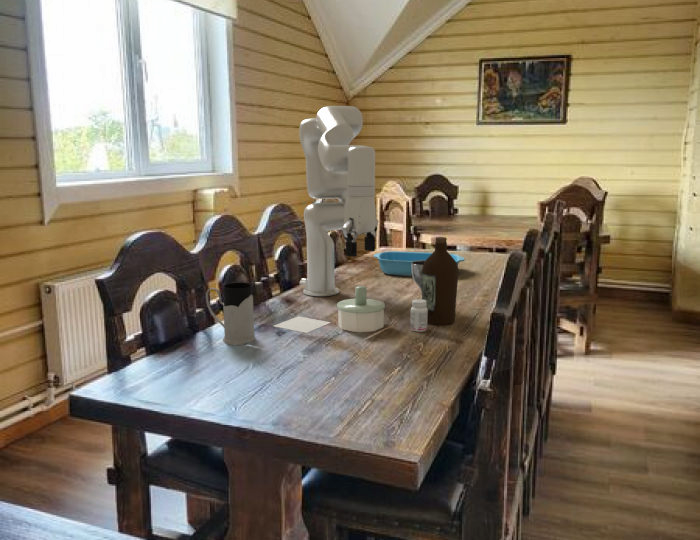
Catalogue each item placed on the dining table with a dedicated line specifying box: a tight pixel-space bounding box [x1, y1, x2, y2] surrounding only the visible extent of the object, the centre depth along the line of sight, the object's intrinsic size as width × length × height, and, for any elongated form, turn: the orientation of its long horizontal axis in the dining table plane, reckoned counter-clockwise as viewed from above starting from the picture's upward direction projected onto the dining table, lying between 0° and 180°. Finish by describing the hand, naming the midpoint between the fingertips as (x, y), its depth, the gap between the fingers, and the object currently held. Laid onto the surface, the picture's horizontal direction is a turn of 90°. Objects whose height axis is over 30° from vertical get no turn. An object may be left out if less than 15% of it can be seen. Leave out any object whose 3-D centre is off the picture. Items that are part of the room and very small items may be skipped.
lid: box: [336, 285, 386, 313], centre depth 175 cm, size 14×14×6 cm
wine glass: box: [411, 260, 425, 300], centre depth 195 cm, size 8×8×15 cm
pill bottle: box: [409, 298, 428, 333], centre depth 174 cm, size 5×5×8 cm
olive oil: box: [422, 236, 460, 326], centre depth 181 cm, size 11×11×25 cm
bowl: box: [337, 308, 385, 333], centre depth 176 cm, size 12×12×6 cm
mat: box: [273, 315, 332, 334], centre depth 178 cm, size 12×12×1 cm
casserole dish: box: [373, 250, 465, 277], centre depth 252 cm, size 37×22×7 cm, turn 81°
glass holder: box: [205, 282, 257, 346], centre depth 165 cm, size 9×14×15 cm, turn 70°
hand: (360, 253), depth 173 cm, fingers open, 9 cm apart
